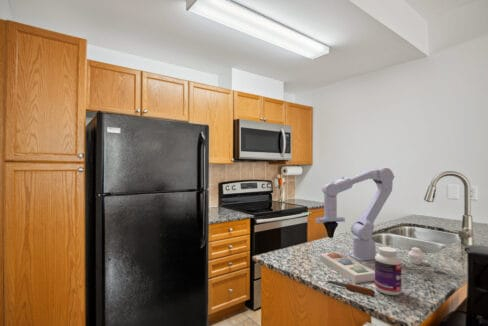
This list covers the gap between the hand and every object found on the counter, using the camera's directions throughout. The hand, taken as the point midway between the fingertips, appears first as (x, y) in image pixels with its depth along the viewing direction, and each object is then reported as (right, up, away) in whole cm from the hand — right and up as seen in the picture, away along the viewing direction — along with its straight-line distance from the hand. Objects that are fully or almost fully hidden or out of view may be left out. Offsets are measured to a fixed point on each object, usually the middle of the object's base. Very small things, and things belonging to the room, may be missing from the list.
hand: (330, 237), depth 122 cm
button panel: (+2, -9, -14) cm, 17 cm away
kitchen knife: (-4, -9, -32) cm, 33 cm away
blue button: (+2, -8, -14) cm, 16 cm away
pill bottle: (+9, -9, -33) cm, 35 cm away
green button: (+4, -8, -22) cm, 24 cm away
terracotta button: (0, -8, -6) cm, 10 cm away
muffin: (+36, -10, -7) cm, 38 cm away
